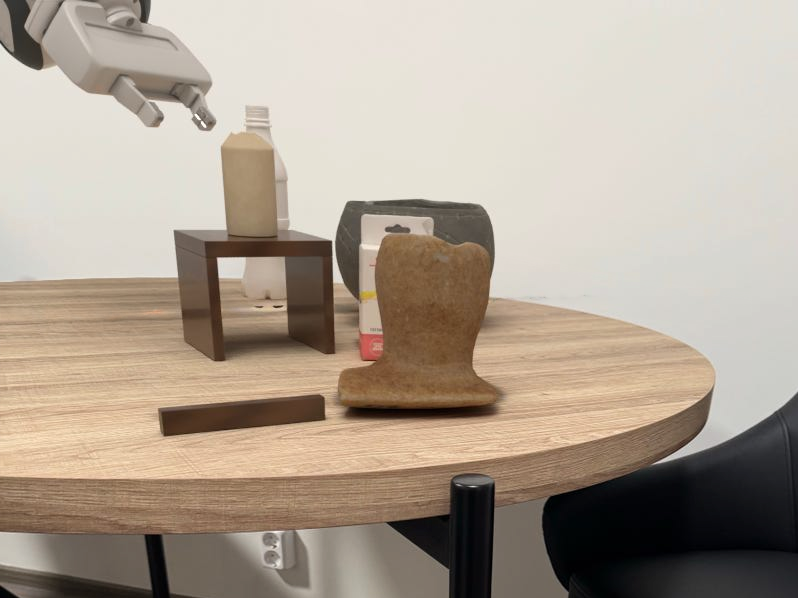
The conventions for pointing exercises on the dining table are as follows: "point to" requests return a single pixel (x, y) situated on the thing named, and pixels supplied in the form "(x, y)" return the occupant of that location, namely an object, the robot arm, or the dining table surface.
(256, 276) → the water bottle
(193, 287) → the shelf unit
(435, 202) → the bowl
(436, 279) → the tan flared-base block
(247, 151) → the candle
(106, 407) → the dining table surface
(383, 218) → the ink cartridge box
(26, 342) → the dining table surface
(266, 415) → the rail
